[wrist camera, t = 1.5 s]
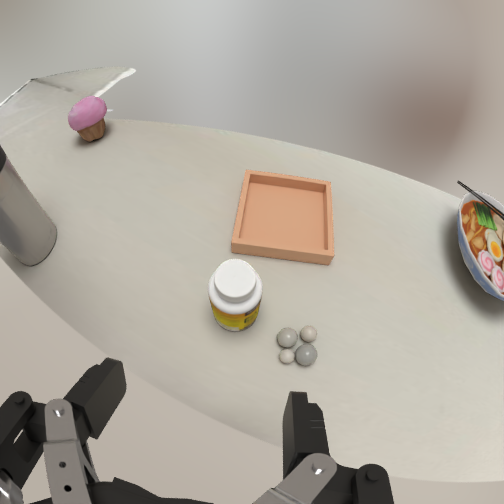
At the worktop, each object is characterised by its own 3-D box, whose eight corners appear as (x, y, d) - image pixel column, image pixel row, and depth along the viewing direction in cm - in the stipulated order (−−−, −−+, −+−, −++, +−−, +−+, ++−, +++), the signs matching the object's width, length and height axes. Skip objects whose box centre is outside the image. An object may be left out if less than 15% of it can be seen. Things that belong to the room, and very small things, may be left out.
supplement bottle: (246, 339, 34) (249, 315, 25) (205, 320, 35) (194, 290, 26) (265, 301, 36) (274, 264, 27) (225, 283, 37) (222, 242, 28)
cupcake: (113, 120, 55) (102, 85, 47) (114, 140, 52) (101, 102, 43) (79, 133, 53) (66, 100, 45) (77, 154, 50) (61, 118, 41)
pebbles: (273, 364, 32) (276, 361, 30) (277, 324, 35) (280, 319, 32) (313, 367, 32) (319, 364, 30) (316, 328, 35) (321, 323, 32)
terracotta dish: (231, 252, 39) (231, 242, 37) (245, 180, 46) (245, 169, 44) (328, 265, 39) (334, 256, 37) (326, 192, 46) (330, 181, 44)
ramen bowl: (421, 274, 39) (449, 248, 32) (441, 191, 49) (459, 165, 42) (510, 342, 33) (540, 327, 26) (516, 253, 42) (538, 234, 35)
